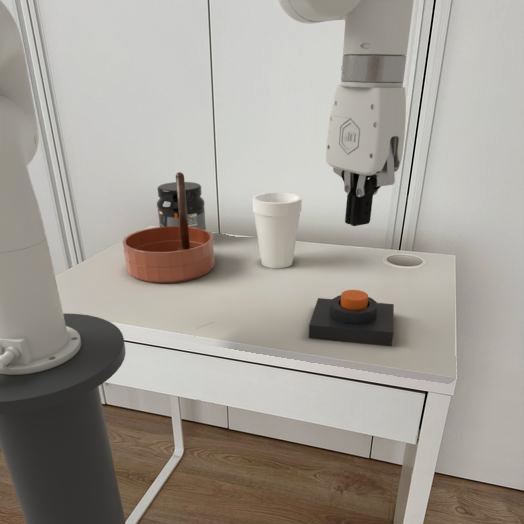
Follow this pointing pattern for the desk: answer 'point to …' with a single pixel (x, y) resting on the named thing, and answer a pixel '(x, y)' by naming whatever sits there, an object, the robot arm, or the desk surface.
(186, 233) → the flanged wooden peg
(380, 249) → the desk surface
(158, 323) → the desk surface
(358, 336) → the black flat block
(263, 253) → the foam cup
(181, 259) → the bowl
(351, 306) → the timer button
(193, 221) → the supplement container
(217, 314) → the desk surface
